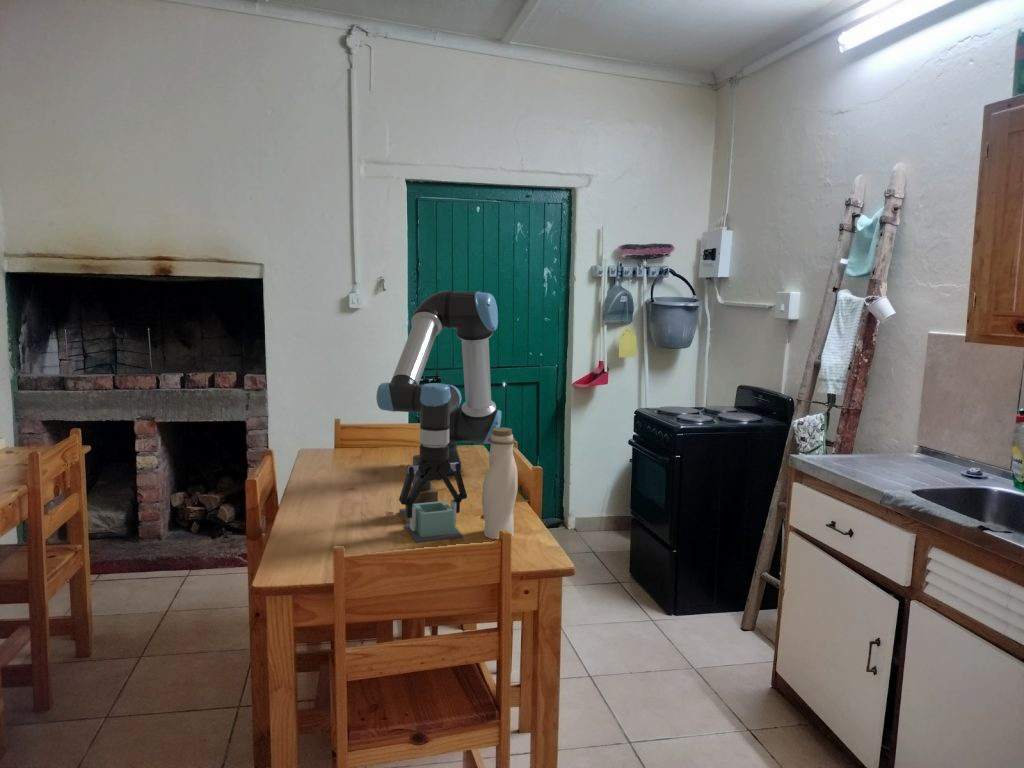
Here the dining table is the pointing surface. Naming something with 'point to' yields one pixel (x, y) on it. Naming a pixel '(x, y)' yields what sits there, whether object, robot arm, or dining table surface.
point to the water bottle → (500, 484)
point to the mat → (432, 538)
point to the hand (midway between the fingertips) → (432, 527)
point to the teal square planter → (434, 519)
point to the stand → (425, 494)
